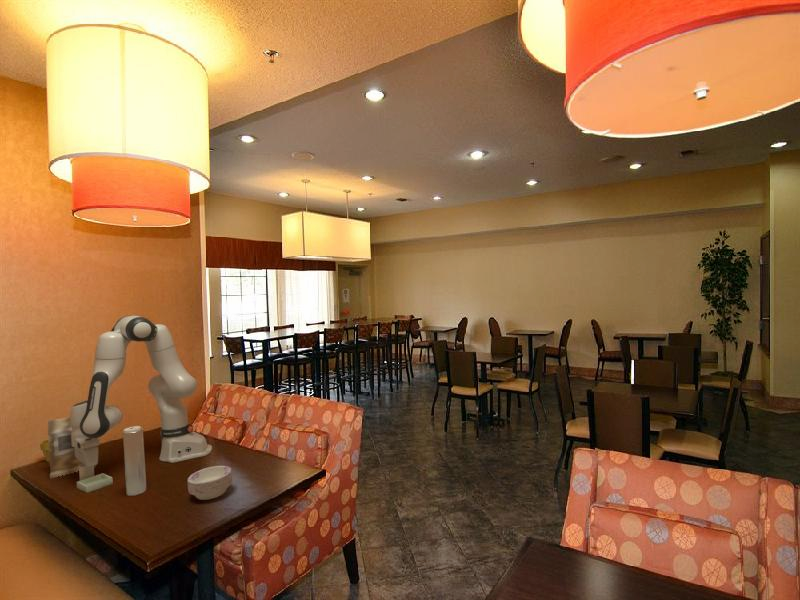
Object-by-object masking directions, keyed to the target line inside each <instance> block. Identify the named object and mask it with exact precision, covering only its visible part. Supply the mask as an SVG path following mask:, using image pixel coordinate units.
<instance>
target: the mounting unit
mask: <svg viewBox="0 0 800 600" xmlns="http://www.w3.org/2000/svg"><path fill="white" fill-rule="evenodd" d="M71 433H72V427H71V425H70V416H69V417H62V418H59V419H52V420H47V434H48V435H47V436H48V439H49V455H50V462H49V469H50V473H49V479H54V478H59V477H63V476H67V475H71V474H75V473H74V472H76V473H79V472H78V471H79V463H80V461H79V460H78V459H77V458H76V457H75V447H72V442H71ZM96 467H97V465H94V469H96ZM70 473H71V474H70ZM66 474H67V475H66ZM62 475H63V476H62ZM58 476H59V477H58Z"/></svg>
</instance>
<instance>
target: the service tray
mask: <svg viewBox="0 0 800 600" xmlns="http://www.w3.org/2000/svg"><path fill="white" fill-rule="evenodd" d="M113 479H114V478H113V477H112V476H110V475H109V474H108V475H107V474H106V473H103V472H102V473H100V474H96V475H94V476H93V477H90V478H87V479H84V480H81V481H80V480H78V481H76V488H77V489H78V490H80V491H81V492H83V493H85V494H88V493H90V492H93V491H96V490H99V489H102V488H105V487H107V486H110V485H113V484H114V482H113V481H114V480H113Z"/></svg>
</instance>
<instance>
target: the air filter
mask: <svg viewBox="0 0 800 600" xmlns="http://www.w3.org/2000/svg"><path fill="white" fill-rule="evenodd" d="M122 440H123V453H124V454H123V455H124V474H125V488H126V489H125V491H126V496H128V497H129V496H130V497H131V496H132V497H133V496H137V495H138V496H139V495H140V494H143V493H145V492H146V490H147V478H146V475H147V474H146V462H145V460H146V459H145V446H144V445H145V442H144V429H143V428H142V427H141V426H140V425H135V426H134V425H133V426H130V427H129V426H128V427H126V428H124V429H123V432H122Z"/></svg>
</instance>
